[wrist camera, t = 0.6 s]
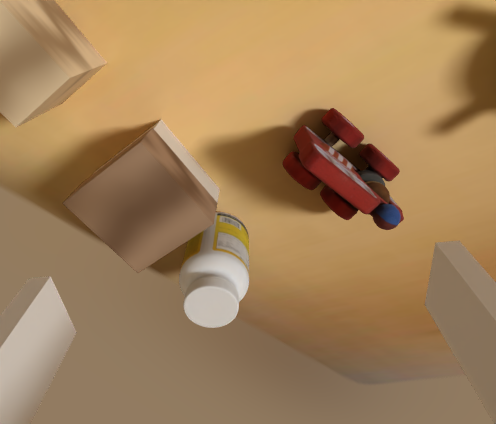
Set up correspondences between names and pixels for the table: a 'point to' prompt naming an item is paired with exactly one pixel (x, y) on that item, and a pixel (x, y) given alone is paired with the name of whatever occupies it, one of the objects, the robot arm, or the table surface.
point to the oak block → (40, 58)
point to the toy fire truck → (345, 172)
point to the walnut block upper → (143, 202)
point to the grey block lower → (183, 158)
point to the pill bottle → (216, 272)
